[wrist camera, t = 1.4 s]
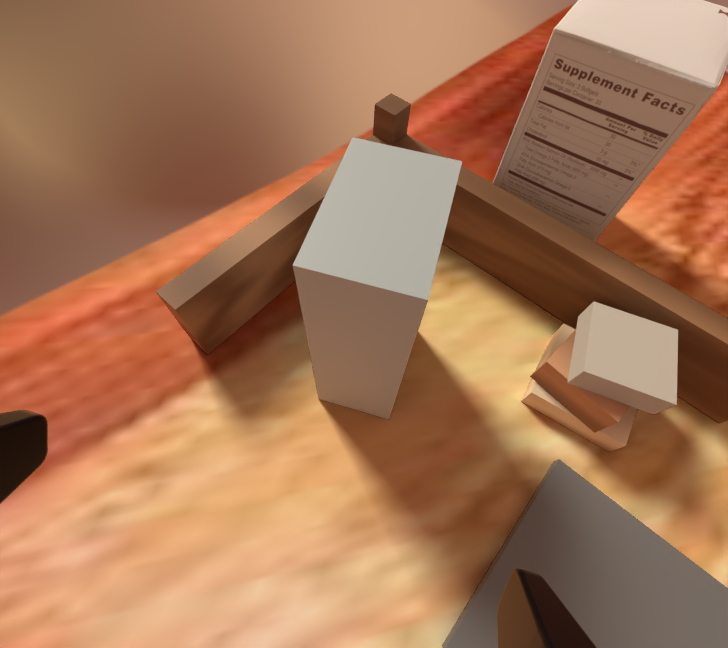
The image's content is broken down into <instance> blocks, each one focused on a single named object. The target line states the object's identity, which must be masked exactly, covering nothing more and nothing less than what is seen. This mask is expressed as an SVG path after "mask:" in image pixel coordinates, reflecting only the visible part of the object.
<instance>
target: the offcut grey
mask: <svg viewBox="0 0 728 648" xmlns="http://www.w3.org/2000/svg"><path fill="white" fill-rule="evenodd" d="M677 365H678V330H677V329H674V328H671V327H668V326H665V325H662V324H659V323H656V322H654V321H651V320H648V319H645V318H642V317H639V316H636V315H633V314H630V313H627V312H624V311H621V310H618V309H615V308H612V307H609V306H606V305H603V304H600V303H597V302H593V303H592V304H591V305H589V306H588V307H587V308H586V309H585V310H584V311H583V312H582V313H581V314H580V315H579V316H578V321H577V327H576V333H575V339H574V345H573V352H572V358H571V364H570V370H569V376H568V382H567V383H569V384H572V385H574V386H577V387H580V388H582V389H585V390H588V391H590V392H593V393H596V394H599V395H601V396H604V397H607V398H609V399H612V400H615V401H617V402H620V403H623V404H626V405H628V406H631V407H634V408H636V409H639V410H642V411H645V412H647V413H650V414H653V415H654V414H656V413H659V412H661V411H664V410H666V409H668V408H671V407H673V406H675V405H677Z"/></svg>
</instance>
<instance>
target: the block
mask: <svg viewBox="0 0 728 648" xmlns="http://www.w3.org/2000/svg"><path fill="white" fill-rule="evenodd" d="M461 165H462V161H458V160H454V159H449V158H445V157H440V156H436V155H431V154H426V153H422V152H417V151H413V150H408V149H404V148H399V147H395V146H390V145H385V144H381V143H376V142H372V141H367V140H363V139H358V138H352V140H351V142H350V144H349V146H348V148H347V150H346V153H345V155H344V157H343V159H342V161H341V163H340V165H339V167H338V170H337V172H336V174H335V176H334V178H333V180H332V182H331V185H330V187H329V189H328V191H327V193H326V195H325V197H324V199H323V202H322V204H321V206H320V208H319V210H318V212H317V214H316V217H315V219H314V221H313V223H312V225H311V227H310V229H309V231H308V234H307V236H306V238H305V240H304V242H303V244H302V246H301V249H300V251H299V253H298V255H297V257H296V259H295V261H294V263H293V270H294V275H295V280H296V285H297V290H298V295H299V301H300V306H301V311H302V316H303V321H304V326H305V331H306V337H307V342H308V347H309V352H310V357H311V362H312V368H313V373H314V378H315V383H316V388H317V393H318V398H319V399H320V400H324V401H327V402H331V403H334V404H338V405H341V406H344V407H348V408H351V409H355V410H358V411H362V412H365V413H368V414H372V415H375V416H379V417H382V418H386V419H389V418H390V415H391V412H392V409H393V406H394V403H395V400H396V397H397V394H398V390H399V387H400V384H401V381H402V378H403V375H404V372H405V369H406V366H407V363H408V360H409V357H410V354H411V351H412V347H413V344H414V341H415V338H416V335H417V332H418V329H419V326H420V323H421V320H422V317H423V314H424V311H425V308H426V305H427V301H428V298H429V294H430V290H431V286H432V282H433V278H434V274H435V270H436V266H437V261H438V257H439V253H440V249H441V245H442V241H443V237H444V233H445V229H446V225H447V221H448V217H449V213H450V209H451V205H452V201H453V197H454V193H455V189H456V185H457V181H458V177H459V173H460V169H461Z"/></svg>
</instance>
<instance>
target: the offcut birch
mask: <svg viewBox="0 0 728 648" xmlns="http://www.w3.org/2000/svg"><path fill="white" fill-rule="evenodd" d="M574 331H575V329H574V328H572V327H570V326H568V325H566V324H563V325H562V326H561V327H560V328H559V329H558V330H557V331H556V332H555V333H554V334H553V335H552V336H551V339H550V341H549V343H548V345H547V347H546V349H545V351H544V353H543V356H542V358H541V360H540V362H539V364H538V366H537V368H536V370H537V369H538V368H539V367H540V366H541V365H542V364H543V363H544V362H545V361H546V360H547V359H548V358H549V357H550V355H551V354H552V353H553V352H554V351H555V350H556V349H557V348H558V347H559V346H560V345H561V344H562V343H563V342H564V341H565V340H566V339H567V338H568V337H569V336H570V335H571V334H572V333H573V332H574ZM536 370H535V371H536ZM521 402H523V403H525V404H527V405H528V406H530V407H532V408H534V409H535V410H537V411H539V412H541V413H542V414H544V415H546V416H547V417H549V418H551V419H553V420H554V421H556V422H558V423H560V424H561V425H563V426H565V427H567V428H568V429H570V430H572V431H573V432H575V433H577V434H579V435H580V436H582V437H584V438H586V439H587V440H589V441H591V442H593V443H594V444H596V445H598V446H599V447H601V448H603V449H605V450H606V451H608V452H610V451H613V450H616V449H619V448H621V447H624V446H626V444H627V441H628V438H629V435H630V432H631V428H632V425H633V422H634V419H635V416H636V413H637V410H638V409H636V408H634V407H630V408H629V409H628V410H627V412H626V413H625V414H624V415H623V417H622V418H621V419H620V420H619V422H618V423H615V424H613V425H611V426H609V427H606V428H604V429H602V430H600V431H597V432H595V433H594V432H593V431H592V430H591V429H589V428H588V427H587V426H586V425H585V424H584V423H583V422H581V421H580V420H579V419H578V418H577V417H576V416H575V415H573V414H572V413H571V412H570V411H569V410H568V409H567V408H565V407H564V406H563V405H562V404H561V403H560V402H559V401H557V400H556V399H555V398H554V397H553V396H552V395H551V394H550V393H548V392H547V391H546V390H545V389H544V388H543V387H542V386H540V385H539V384H538V383H537V382H536V381H535V380H534V379H531V381H530V383H529V385H528V387H527V390H526V392H525V394H524V396H523V398H522V400H521Z"/></svg>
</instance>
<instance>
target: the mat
mask: <svg viewBox="0 0 728 648" xmlns="http://www.w3.org/2000/svg"><path fill="white" fill-rule="evenodd" d="M516 568H522V569H525V570H528V571H531V572H534V573H537V574H539V575H541V576H542V577H543V578H544V579H545V580H546V582H547V583H548V584H549V586H550V587H551V588H552V590H553V591H554V592H555V594H556V595H557V596H558V597H559V599H560V600H561V601H562V603H563V604H564V605H565V607H566V608H567V609H568V610H569V612H570V613H571V614H572V616H573V617H574V618H575V620H576V621H577V622H578V624H579V625H580V626H581V627H582V629H583V630H584V631H585V633H586V634H587V635H588V637H589V638H590V639H591V641H592V642H593V643H594V644H595V646H596V647H597V648H728V588H727V587H725V586H724V585H723V584H721V583H720V582H719V581H717V580H716V579H715V578H713V577H712V576H711V575H710V574H708V573H707V572H706V571H704V570H703V569H702V568H700V567H699V566H698V565H696V564H695V563H694V562H693V561H691V560H690V559H689V558H687V557H686V556H685V555H683V554H682V553H681V552H679V551H678V550H677V549H676V548H674V547H673V546H672V545H670V544H669V543H668V542H666V541H665V540H664V539H662V538H661V537H660V536H659V535H657V534H656V533H655V532H653V531H652V530H651V529H649V528H648V527H647V526H646V525H644V524H643V523H642V522H640V521H639V520H638V519H636V518H635V517H634V516H632V515H631V514H630V513H629V512H627V511H626V510H625V509H623V508H622V507H621V506H619V505H618V504H617V503H615V502H614V501H613V500H612V499H610V498H609V497H608V496H606V495H605V494H604V493H602V492H601V491H600V490H598V489H597V488H596V487H595V486H593V485H592V484H591V483H589V482H588V481H587V480H585V479H584V478H583V477H581V476H580V475H579V474H578V473H576V472H575V471H574V470H572V469H571V468H570V467H568V466H567V465H566V464H564V463H563V462H562V461H561V460H556V461H554V462H553V464H552V465H551V467H550V469H549V470H548V472H547V474H546V475H545V477H544V479H543V480H542V482H541V483H540V485H539V487H538V488H537V490H536V492H535V493H534V495H533V497H532V498H531V500H530V502H529V503H528V505H527V507H526V508H525V510H524V512H523V513H522V515H521V516H520V518H519V520H518V521H517V523H516V525H515V526H514V528H513V530H512V531H511V533H510V535H509V536H508V538H507V540H506V541H505V543H504V544H503V546H502V548H501V549H500V551H499V553H498V554H497V556H496V558H495V559H494V561H493V563H492V564H491V566H490V568H489V569H488V571H487V573H486V574H485V576H484V577H483V579H482V581H481V582H480V584H479V586H478V587H477V589H476V591H475V592H474V594H473V596H472V597H471V599H470V601H469V602H468V604H467V606H466V607H465V609H464V610H463V612H462V614H461V615H460V617H459V619H458V620H457V622H456V624H455V625H454V627H453V629H452V630H451V632H450V634H449V635H448V637H447V638H446V640H445V642H444V643H443V645H442V647H443V648H498V634H497V611H498V605H499V602H500V599H501V597H502V595H503V592H504V590H505V588H506V585H507V583H508V581H509V578H510V576H511V574H512V572H513V571H514V569H516Z"/></svg>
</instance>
